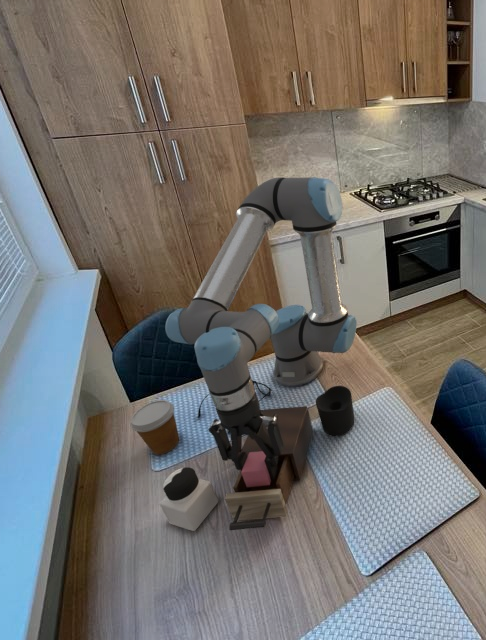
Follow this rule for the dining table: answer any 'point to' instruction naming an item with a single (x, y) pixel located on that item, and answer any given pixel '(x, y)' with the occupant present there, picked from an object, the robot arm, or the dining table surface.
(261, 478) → the block
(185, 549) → the dining table surface
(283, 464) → the drawer
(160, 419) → the disposable coffee cup
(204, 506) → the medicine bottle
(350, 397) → the pen holder
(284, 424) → the cabinet
